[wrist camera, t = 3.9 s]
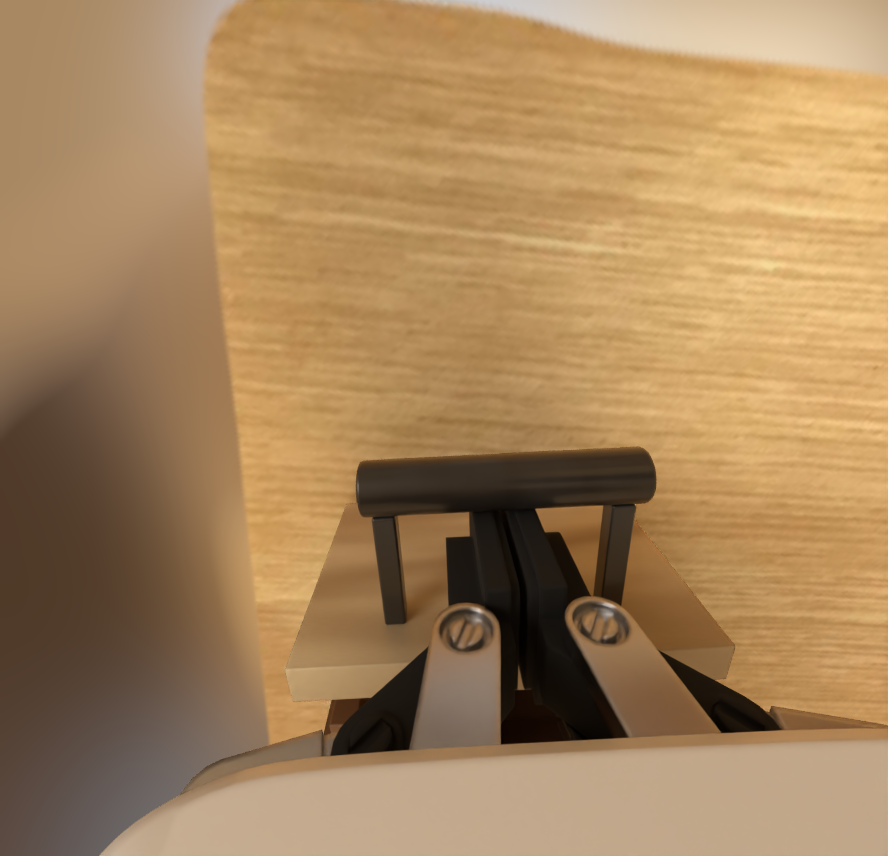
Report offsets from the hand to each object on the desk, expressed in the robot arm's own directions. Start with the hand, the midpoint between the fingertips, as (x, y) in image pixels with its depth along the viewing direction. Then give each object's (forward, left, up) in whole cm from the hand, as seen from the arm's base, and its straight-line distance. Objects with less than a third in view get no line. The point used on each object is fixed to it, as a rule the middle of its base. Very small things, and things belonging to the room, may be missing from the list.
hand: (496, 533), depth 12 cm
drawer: (+5, -4, -5) cm, 8 cm away
